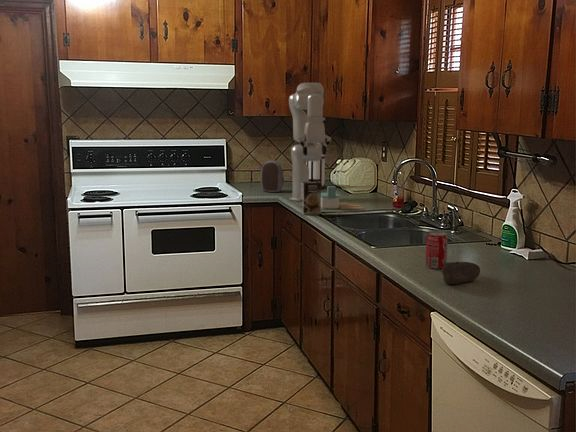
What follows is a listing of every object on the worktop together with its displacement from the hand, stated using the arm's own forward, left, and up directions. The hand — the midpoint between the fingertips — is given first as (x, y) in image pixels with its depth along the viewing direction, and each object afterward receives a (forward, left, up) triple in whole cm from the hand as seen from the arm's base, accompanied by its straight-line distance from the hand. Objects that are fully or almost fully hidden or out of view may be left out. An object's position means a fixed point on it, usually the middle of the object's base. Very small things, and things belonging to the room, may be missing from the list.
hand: (314, 154), depth 303 cm
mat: (-18, +22, -30) cm, 41 cm away
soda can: (+103, +28, -30) cm, 111 cm away
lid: (-17, +11, -24) cm, 31 cm away
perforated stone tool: (+121, +30, -30) cm, 129 cm away
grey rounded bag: (-75, -16, -30) cm, 82 cm away
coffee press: (-89, +13, -30) cm, 94 cm away
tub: (-19, +11, -30) cm, 37 cm away
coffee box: (0, -2, -30) cm, 30 cm away
